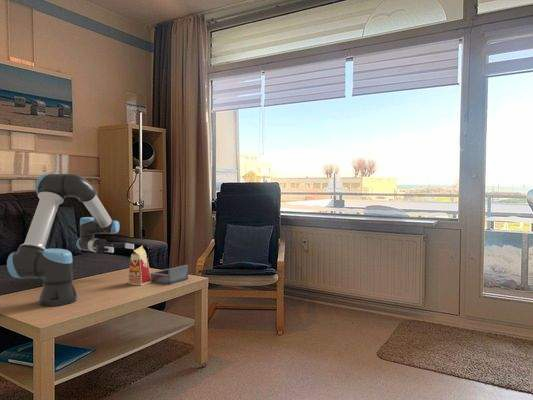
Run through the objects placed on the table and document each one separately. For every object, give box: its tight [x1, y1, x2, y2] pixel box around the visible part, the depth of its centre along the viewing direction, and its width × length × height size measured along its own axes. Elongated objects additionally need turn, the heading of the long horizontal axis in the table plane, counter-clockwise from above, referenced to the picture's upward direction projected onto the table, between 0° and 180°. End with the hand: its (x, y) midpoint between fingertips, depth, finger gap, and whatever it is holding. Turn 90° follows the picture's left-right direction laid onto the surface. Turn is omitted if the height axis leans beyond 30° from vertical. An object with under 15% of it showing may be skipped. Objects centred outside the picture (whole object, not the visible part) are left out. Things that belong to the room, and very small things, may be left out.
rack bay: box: [150, 264, 189, 285], centre depth 220 cm, size 14×15×8 cm
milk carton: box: [128, 245, 152, 286], centre depth 213 cm, size 9×9×20 cm
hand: (123, 248), depth 216 cm, fingers open, 13 cm apart
